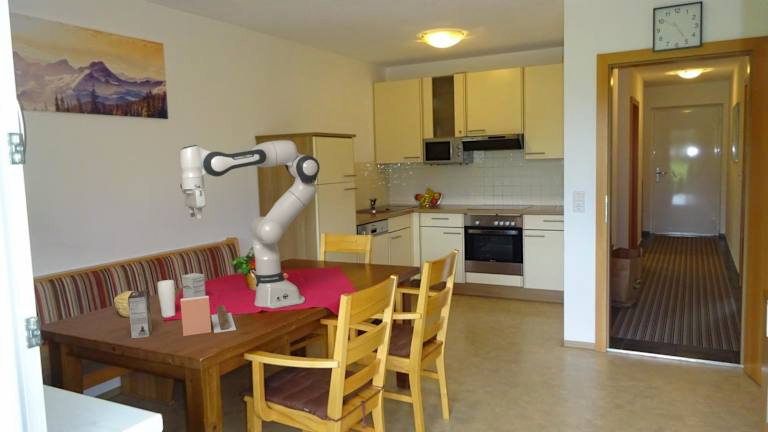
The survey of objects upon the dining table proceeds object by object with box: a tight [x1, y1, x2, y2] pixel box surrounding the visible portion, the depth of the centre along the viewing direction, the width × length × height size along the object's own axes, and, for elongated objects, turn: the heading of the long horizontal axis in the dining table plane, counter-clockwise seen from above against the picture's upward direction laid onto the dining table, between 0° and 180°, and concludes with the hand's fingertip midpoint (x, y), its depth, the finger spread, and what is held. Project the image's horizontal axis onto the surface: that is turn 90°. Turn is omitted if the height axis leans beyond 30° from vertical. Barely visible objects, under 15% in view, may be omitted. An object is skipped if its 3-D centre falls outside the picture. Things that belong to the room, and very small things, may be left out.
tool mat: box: [210, 312, 237, 334], centre depth 225 cm, size 8×26×1 cm, turn 19°
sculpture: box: [113, 290, 137, 318], centre depth 243 cm, size 12×12×11 cm
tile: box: [180, 295, 212, 337], centre depth 212 cm, size 10×3×14 cm, turn 109°
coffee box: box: [128, 289, 153, 340], centre depth 214 cm, size 9×6×16 cm
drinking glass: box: [157, 279, 176, 319], centre depth 238 cm, size 7×7×15 cm
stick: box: [216, 304, 229, 330], centre depth 225 cm, size 3×22×4 cm, turn 19°
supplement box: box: [181, 272, 207, 299], centre depth 262 cm, size 7×7×13 cm
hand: (195, 217), depth 235 cm, fingers open, 8 cm apart
